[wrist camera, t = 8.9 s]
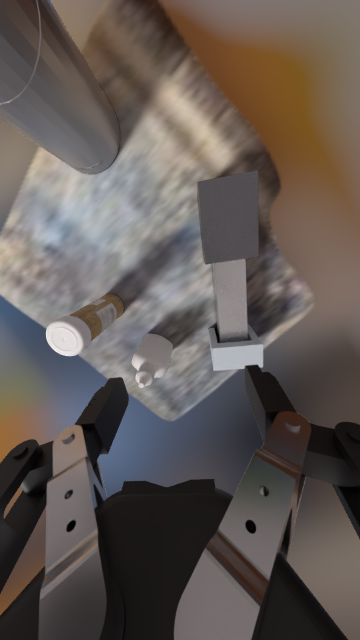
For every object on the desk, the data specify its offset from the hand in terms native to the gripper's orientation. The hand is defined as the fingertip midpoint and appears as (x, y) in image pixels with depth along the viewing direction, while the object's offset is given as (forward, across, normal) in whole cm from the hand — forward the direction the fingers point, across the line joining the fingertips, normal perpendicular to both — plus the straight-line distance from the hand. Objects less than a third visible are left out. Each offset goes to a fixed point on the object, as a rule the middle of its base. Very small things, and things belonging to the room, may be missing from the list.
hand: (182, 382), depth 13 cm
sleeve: (+22, -6, -9) cm, 25 cm away
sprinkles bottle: (+22, +14, 0) cm, 26 cm away
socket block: (+21, -6, +8) cm, 24 cm away
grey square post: (+21, -6, +1) cm, 22 cm away
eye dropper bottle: (+22, +7, +8) cm, 24 cm away
